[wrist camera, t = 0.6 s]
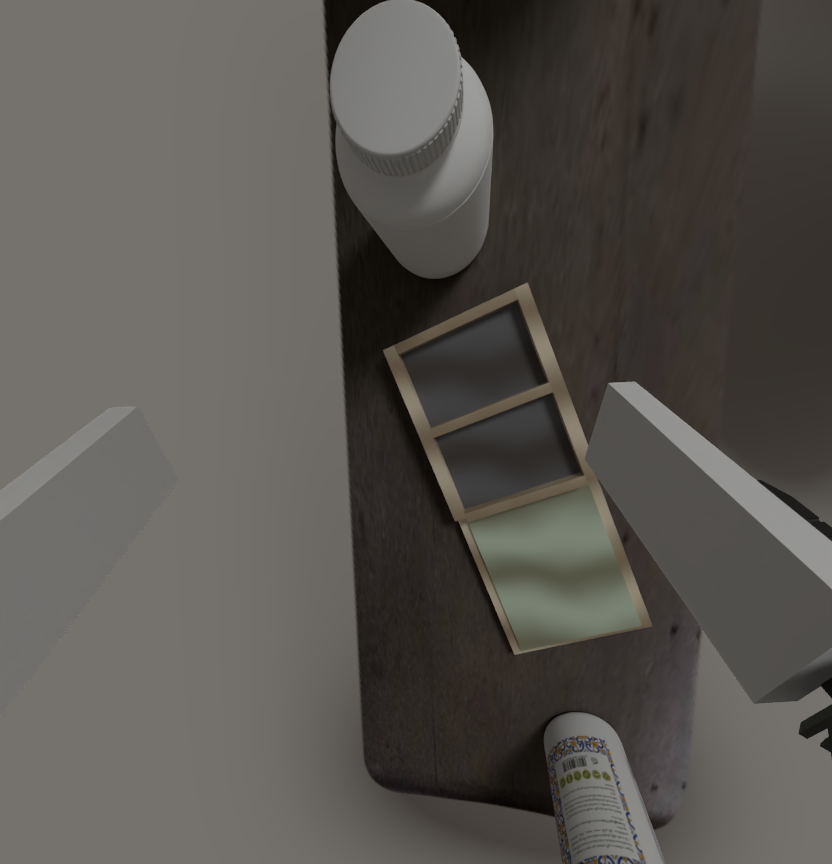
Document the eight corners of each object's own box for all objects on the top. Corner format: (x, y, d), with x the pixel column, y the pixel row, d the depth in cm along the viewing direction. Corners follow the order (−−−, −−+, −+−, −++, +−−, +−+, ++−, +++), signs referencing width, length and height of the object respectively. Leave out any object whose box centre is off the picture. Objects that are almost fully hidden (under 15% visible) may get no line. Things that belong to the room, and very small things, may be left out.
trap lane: (389, 351, 30) (382, 350, 28) (524, 288, 27) (527, 282, 25) (513, 647, 33) (515, 665, 31) (648, 619, 30) (659, 636, 28)
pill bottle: (499, 263, 27) (516, 147, 13) (403, 293, 29) (323, 221, 15) (477, 155, 26) (469, -102, 12) (379, 193, 28) (268, 11, 14)
